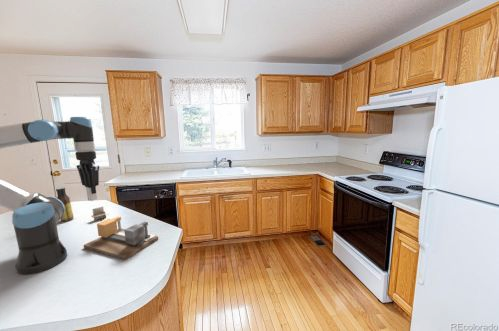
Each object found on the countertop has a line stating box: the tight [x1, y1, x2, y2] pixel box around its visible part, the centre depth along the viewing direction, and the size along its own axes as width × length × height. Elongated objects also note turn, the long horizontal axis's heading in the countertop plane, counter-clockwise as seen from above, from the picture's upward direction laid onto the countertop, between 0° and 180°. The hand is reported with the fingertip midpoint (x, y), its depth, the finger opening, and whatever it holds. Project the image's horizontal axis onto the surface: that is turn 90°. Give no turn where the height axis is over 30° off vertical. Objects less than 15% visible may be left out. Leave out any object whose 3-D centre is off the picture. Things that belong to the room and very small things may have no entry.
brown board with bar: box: [83, 221, 159, 261], centre depth 102 cm, size 18×26×9 cm
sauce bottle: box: [55, 186, 74, 223], centre depth 130 cm, size 6×6×20 cm
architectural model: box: [90, 206, 107, 221], centre depth 131 cm, size 3×7×7 cm, turn 141°
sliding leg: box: [96, 216, 122, 238], centre depth 107 cm, size 10×5×6 cm, turn 158°
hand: (92, 199), depth 106 cm, fingers closed
